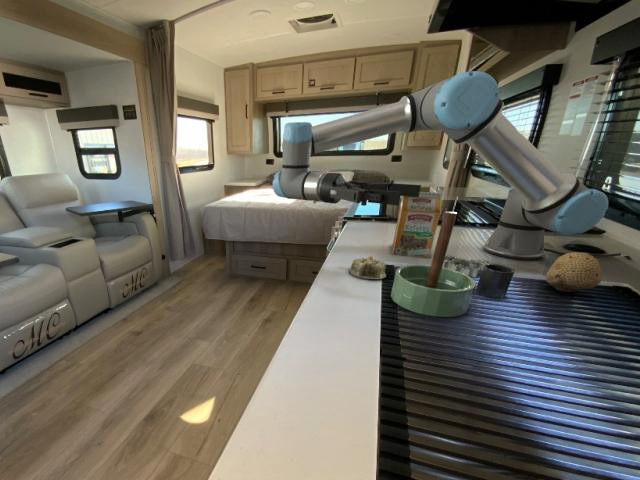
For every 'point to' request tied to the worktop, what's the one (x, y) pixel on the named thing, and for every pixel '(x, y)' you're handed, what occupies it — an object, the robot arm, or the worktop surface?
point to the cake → (368, 268)
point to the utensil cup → (494, 281)
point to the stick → (441, 249)
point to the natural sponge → (574, 272)
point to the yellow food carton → (417, 224)
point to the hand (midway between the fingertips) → (410, 194)
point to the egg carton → (464, 265)
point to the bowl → (432, 291)
